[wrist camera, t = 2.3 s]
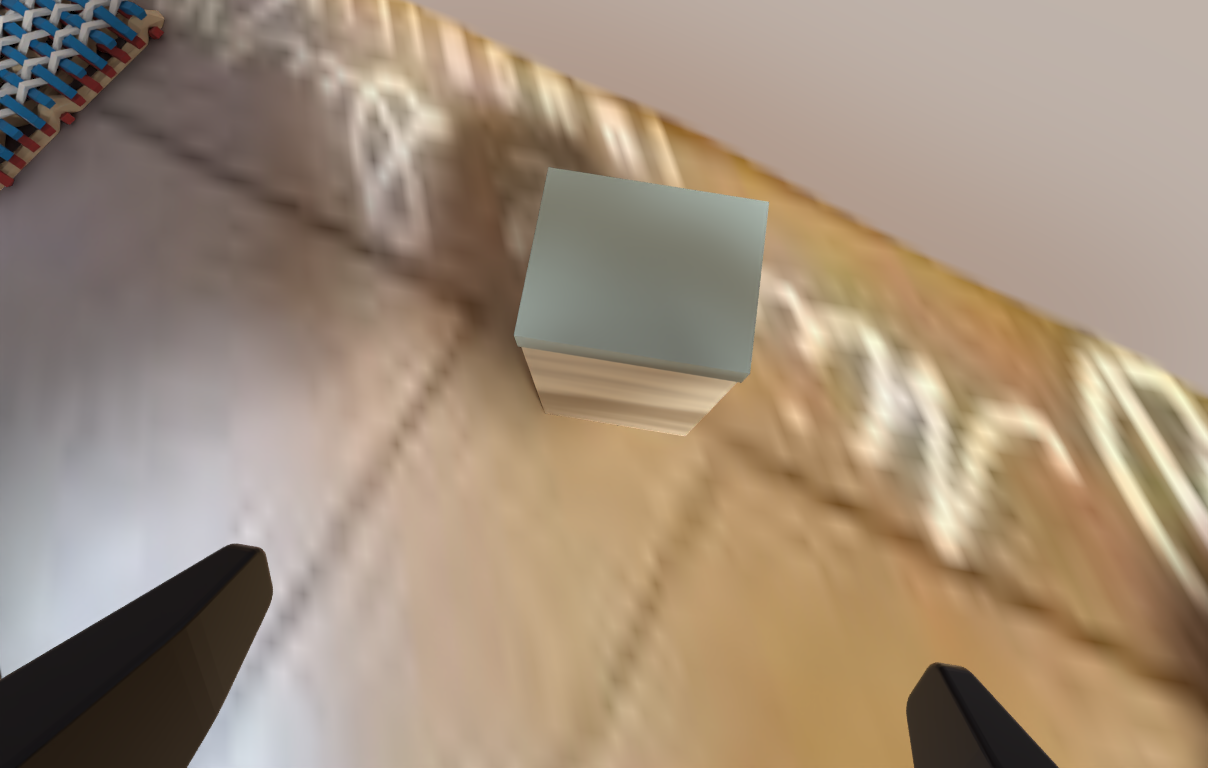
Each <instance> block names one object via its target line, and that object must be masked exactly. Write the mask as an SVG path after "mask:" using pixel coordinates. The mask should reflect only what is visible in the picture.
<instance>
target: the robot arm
mask: <svg viewBox="0 0 1208 768" xmlns="http://www.w3.org/2000/svg"><path fill="white" fill-rule="evenodd" d="M272 595H273V586H272V581H271V576H270V572H269V567H268V562H267V558H266V554H265V552H264V551H263V550H262V549H261V548H259V547H254V546H249V545H243V544H230V545H227V546H225V547H223V548H221V549H220V550H218V551H216V552H215V553H213V554H211V555H210V556H208V557H206V558H204V559H203V560H201V561H199V562H198V563H196V564H194V565H193V566H191V567H189V568H188V569H186V570H184V571H183V572H181V573H179V574H177V575H176V576H174V577H172V578H171V579H169V580H167V581H166V582H164V583H162V584H161V585H159V586H157V587H156V588H154V589H152V590H151V591H149V592H147V593H145V594H144V595H142V596H140V597H139V598H137V599H135V600H134V601H132V602H130V603H129V604H127V605H125V606H124V607H122V608H120V609H118V610H117V611H115V612H113V613H112V614H110V615H108V616H107V617H105V618H103V619H102V620H100V621H98V622H97V623H95V624H93V625H91V626H90V627H88V628H86V629H85V630H83V631H81V632H80V633H78V634H76V635H75V636H73V637H71V638H70V639H68V640H66V641H64V642H63V643H61V644H59V645H58V646H56V647H54V648H53V649H51V650H49V651H48V652H46V653H44V654H43V655H41V656H39V657H37V658H36V659H34V660H32V661H31V662H29V663H27V664H26V665H24V666H22V667H21V668H19V669H17V670H16V671H14V672H12V673H11V674H9V675H7V676H5V677H4V678H2V679H0V768H187V766H188V765H189V763H190V761H191V760H192V758H193V756H194V755H195V753H196V751H197V750H198V748H199V746H200V745H201V743H202V741H203V740H204V738H205V736H206V735H207V733H208V731H209V729H210V728H211V726H212V724H213V722H214V721H215V719H216V717H217V715H218V713H219V711H220V709H221V707H222V705H223V703H224V701H225V699H226V697H227V695H228V693H229V691H230V689H231V687H232V684H233V682H234V680H235V678H236V676H237V674H238V672H239V670H240V667H241V665H242V663H243V661H244V659H245V657H246V655H247V653H248V650H249V648H250V646H251V644H252V642H253V640H254V638H255V636H256V633H257V631H258V629H259V627H260V625H261V623H262V621H263V619H264V617H265V614H266V612H267V610H268V608H269V606H270V603H271V600H272ZM906 714H907V722H908V729H909V735H910V742H911V749H912V756H913V763H914V768H1059V767H1058V766H1057V765H1056V764H1055V763H1054V762H1053V761H1052V760H1051V759H1050V758H1049V756H1048V755H1047V754H1046V753H1045V752H1044V751H1043V750H1042V749H1041V748H1040V747H1039V746H1038V744H1037V743H1036V742H1035V741H1034V740H1033V739H1032V738H1031V737H1030V736H1029V735H1028V734H1027V732H1026V731H1025V730H1024V729H1023V728H1022V727H1021V726H1020V725H1019V724H1018V723H1017V722H1016V720H1015V719H1014V718H1013V717H1012V716H1011V715H1010V714H1009V713H1008V712H1007V711H1006V710H1005V709H1004V707H1003V706H1002V705H1001V704H1000V703H999V702H998V701H997V700H996V699H995V698H994V697H993V695H992V694H991V693H990V692H989V691H988V690H987V689H986V688H985V687H984V686H983V685H982V683H981V682H980V681H979V680H978V679H977V678H976V677H975V676H974V675H973V674H972V673H971V672H970V671H969V670H967V669H966V668H964V667H961V666H956V665H950V664H944V663H933V664H931V665H930V666H929V667H928V668H927V669H926V671H925V672H924V674H923V675H922V677H921V679H920V680H919V682H918V683H917V685H916V686H915V688H914V689H913V691H912V692H911V694H910V696H909V698H908V701H907V707H906Z"/></svg>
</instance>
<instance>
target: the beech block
mask: <svg viewBox="0 0 1208 768" xmlns="http://www.w3.org/2000/svg"><path fill="white" fill-rule="evenodd" d="M768 206H769V202H766V201H760V200H753V199H747V198H741V197H734V196H728V195H722V194H715V193H709V192H703V191H696V190H690V189H684V188H677V187H671V186H665V185H658V184H652V183H646V182H639V181H633V180H627V179H621V178H614V177H608V176H602V175H595V174H589V173H583V172H576V171H570V170H564V169H557V168H551V167H548V172H547V177H546V181H545V186H544V191H543V196H542V201H541V206H540V210H539V215H538V220H537V225H536V230H535V235H534V240H533V244H532V249H531V254H530V259H529V264H528V269H527V273H526V278H525V283H524V288H523V293H522V298H521V303H520V307H519V312H518V317H517V322H516V327H515V332H514V337H515V340H516V343H517V345H518V346H519V347H521V348H522V350H523V353H524V356H525V359H526V361H527V364H528V367H529V370H530V373H531V375H532V378H533V381H534V384H535V387H536V389H537V392H538V395H539V398H540V401H541V403H542V406H543V409H544V412H545V413H547V414H553V415H559V416H565V417H571V418H577V419H583V420H589V421H595V422H601V423H608V424H614V425H620V426H626V427H632V428H638V429H644V430H650V431H656V432H662V433H668V434H675V435H681V436H686V435H687V434H688V433H689V432H690V431H691V430H692V429H693V428H694V427H695V426H696V424H697V423H698V422H699V421H700V420H701V419H702V418H703V417H704V416H705V415H706V414H707V413H708V412H709V411H710V410H711V409H712V408H713V407H714V406H715V405H716V404H717V403H718V402H719V401H720V400H721V399H722V397H723V396H724V395H725V394H726V393H727V392H728V391H729V390H730V389H731V388H732V387H733V386H734V385H735V384H736V383H737V382H740V383H741V382H742V381H743V380H744V379H745V378H746V377H747V376H748V375H749V374H750V369H751V360H752V351H753V342H754V333H755V324H756V315H757V306H758V296H759V287H760V278H761V269H762V260H763V251H764V242H765V233H766V224H767V215H768Z"/></svg>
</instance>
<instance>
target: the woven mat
mask: <svg viewBox="0 0 1208 768" xmlns="http://www.w3.org/2000/svg"><path fill="white" fill-rule="evenodd" d="M70 11H75V12H77V13H80V14H79V15H77V14H70ZM117 12H118V13H119V14H118V15H117V16H116V13H117ZM45 15H49V16H48V17H47V18H46V19H44V18H41V17H39V16H45ZM163 23H164V17H163V16H162V15H161V14H160V12H159V11H155V10H144V9H142V8H141V7H139V6H138V5H136V4H135V3H132V2H129V1H126V0H0V55H1V54H2V55H3V56H5V57H4V58H3V59H1V60H0V83H2V82H3V81H4V82H6V83H5V84H4V85H3V86H2V87H1V88H0V157H2V158H3V159H5V161H4V162H2V163H1V164H0V191H1V190H2V189H3V188H4V187H5V186H6V187H9V186H12V185H13V182H14V179H13V178H14V177H15V176H16V175H17V174H18V173H19V172H20V171H21V170H22V169H23V168H24V167H25V166H26V165H27V164H28V163H29V162H30V161H31V160H32V159H33V158H34V157H35V156H36V155H37V154H38V153H39V152H40V151H41V150H42V149H43V148H44V147H45V146H46V145H47V144H48V143H49V142H50V141H51V140H52V139H53V138H54V137H55V136H56V135H57V134H58V133H59V131H60V120H61V121H63V122H64V123H66V124H69V125H70V124H71V123H72V122H73V121H74V120H75V118H74V117H73V116H71V115H70V114H69V113H74V112H79V111H81V110H82V109H83V108H84V107H85V106H86V105H87V104H89V103H90V102H91V101H92V100H93V99H94V98H95V97H96V96H97V95H98V94H99V93H100V92H101V91H102V90H103V89H104V88H105V87H106V86H107V85H108V84H109V83H110V82H111V81H112V80H113V79H114V78H115V77H116V76H117V75H118V74H119V73H120V72H121V71H122V70H123V69H124V68H125V67H126V66H127V65H128V64H129V63H130V62H131V61H132V60H133V59H134V58H135V57H136V56H137V55H138V54H139V53H140V52H141V51H142V50H143V49H144V48H145V47H146V46H147V45H148V42H149V37H151V38H152V39H159V38H160V37H161V36H162V34H163V33H164V32H163V31H162V30H161V28H162V27H163ZM63 25H66V27H65V28H64V29H62V30H60V28H61V27H62V26H63ZM32 27H33V28H35V29H34V30H33V31H32V32H31V28H32ZM6 36H8V37H6ZM118 36H119V37H121V38H122V39H124V40H126V41H127V42H126V43H125V44H124V45H123V46H122V47H121V48H118V47H116V45H117V43H116V41H115V40H114V39H117V38H118ZM49 38H50V39H51V40H53V44H52V45H51V46H49V45H48V44H47V43H45V42H46V41H47V40H48V39H49ZM15 43H19V44H18V45H17V46H16V47H14V48H12V47H10V46H8V45H10V44H15ZM97 49H98V50H99V51H101V52H107V53H108V54H110V55H112V57H111V58H110V59H109V60H108V61H107V62H106V61H105V60H104V59H103V58H101V57H100V56H99V55H97V54H96V52H97ZM71 56H74V57H73V58H72V59H71V60H68V59H66V58H67V57H71ZM89 65H91V66H93V67H94V68H96V69H97V71H96V72H95V73H94V74H93V75H92V76H91V77H89V76H88V75H86V74H87V72H86V71H85V69H86V68H87V67H88V66H89ZM57 68H59V69H60V70H59V71H58V72H57V73H56V70H57ZM55 73H56V74H55ZM32 77H33V78H35V79H32ZM74 79H76V80H78V81H79V82H81V83H82V84H83V85H82V86H81V87H80V88H79V89H78V90H77V91H76V90H74V89H73V88H72V87H70V86H69V84H70V83H71V82H72V81H73V80H74ZM41 85H43V86H42V87H41V88H40V89H39V90H37V89H35V88H34V87H38V86H41ZM59 94H62V95H59ZM26 96H27V97H28V98H30V99H28V100H27V101H26V102H25V99H26ZM24 102H25V103H24ZM37 115H38V116H37ZM29 123H30V124H31V125H33V126H34V127H36V128H37V130H36V131H35V132H34V133H33V134H32V135H30V136H29V137H27V136H26V135H24V134H23V133H22V132H21V131H20V130H18V129H17V128H15V127H19V126H25V125H28V124H29ZM6 134H7V135H8V136H9V137H11V138H13V139H14V140H16V141H17V142H19V143H20V144H21V145H20V146H19V147H18V148H17V149H16V150H15V151H14V152H11V151H10V150H8V149H7V148H5V140H6Z"/></svg>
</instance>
